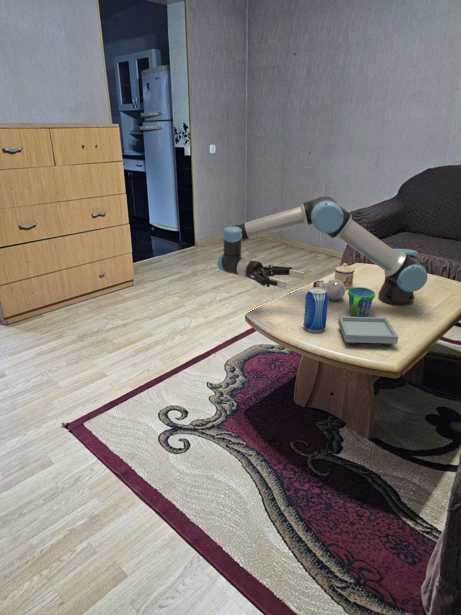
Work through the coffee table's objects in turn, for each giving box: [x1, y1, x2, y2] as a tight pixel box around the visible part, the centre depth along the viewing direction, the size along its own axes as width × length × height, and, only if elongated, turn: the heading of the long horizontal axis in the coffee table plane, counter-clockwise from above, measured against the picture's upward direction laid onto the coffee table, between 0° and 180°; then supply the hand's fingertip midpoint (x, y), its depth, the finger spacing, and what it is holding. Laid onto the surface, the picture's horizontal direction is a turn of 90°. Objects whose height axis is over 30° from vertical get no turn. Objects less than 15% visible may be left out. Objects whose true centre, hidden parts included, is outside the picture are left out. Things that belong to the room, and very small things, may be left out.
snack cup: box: [347, 287, 376, 317], centre depth 180 cm, size 16×10×10 cm
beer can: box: [303, 286, 329, 334], centre depth 166 cm, size 8×8×16 cm
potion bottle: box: [312, 279, 346, 301], centre depth 197 cm, size 9×10×15 cm
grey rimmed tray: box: [337, 315, 399, 348], centre depth 161 cm, size 18×16×5 cm
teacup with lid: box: [333, 262, 355, 291], centre depth 211 cm, size 12×9×12 cm
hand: (295, 280), depth 168 cm, fingers open, 13 cm apart
